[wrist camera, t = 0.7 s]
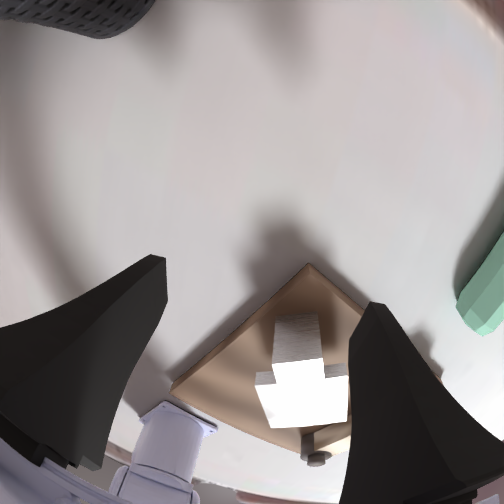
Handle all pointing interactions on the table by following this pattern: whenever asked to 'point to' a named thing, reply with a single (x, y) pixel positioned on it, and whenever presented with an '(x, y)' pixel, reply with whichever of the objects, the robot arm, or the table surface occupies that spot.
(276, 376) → the plate
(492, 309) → the green octagonal bar
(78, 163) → the table surface
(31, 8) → the storage bin
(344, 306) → the board
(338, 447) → the link
